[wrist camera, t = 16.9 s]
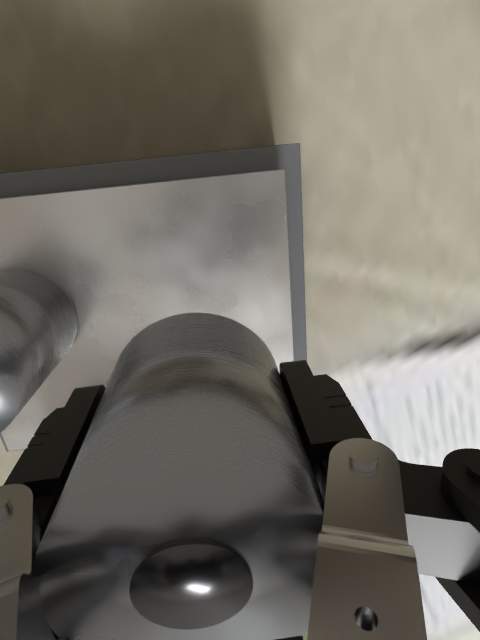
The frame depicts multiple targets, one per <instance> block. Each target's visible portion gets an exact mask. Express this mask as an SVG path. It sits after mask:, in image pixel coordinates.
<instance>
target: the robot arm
mask: <svg viewBox="0 0 480 640" xmlns="http://www.w3.org/2000/svg"><path fill="white" fill-rule="evenodd" d="M279 372H280V377H281V379H282V382H283V385H284V388H285V391H286V394H287V397H288V399H289V402H290V405H291V408H292V411H293V414H294V417H295V419H296V422H297V425H298V428H299V431H300V434H301V437H302V439H303V442H304V445H305V448H306V451H307V454H308V457H309V459H310V462H311V465H312V468H313V471H314V474H315V477H316V479H317V482H318V485H319V488H320V491H321V494H322V497H323V500H324V502H325V504H324V514H323V524H322V531H319V535H318V542H317V551H316V561H315V570H314V579H313V589H312V598H311V607H310V617H309V626H308V635H307V640H427V635H426V628H425V620H424V613H423V605H422V597H421V590H420V582H419V575H418V574H423V575H429V576H435V577H436V579H437V580H438V581H439V583H440V584H441V585H442V586H443V588H444V589H445V590H446V591H447V592H448V594H449V595H450V596H451V597H452V599H453V600H454V601H455V602H456V603H457V605H458V606H459V607H460V608H461V610H462V611H463V612H464V613H465V614H466V616H467V617H468V618H469V619H470V621H471V622H472V623H473V624H474V625H475V627H476V628H477V629H478V630H479V632H480V450H479V449H458V450H455V451H452V452H450V453H449V454H448V455H447V456H446V457H445V458H444V461H443V466H442V467H436V466H427V465H418V464H411V463H406V462H402V461H400V460H398V459H397V457H396V455H395V454H394V452H393V451H392V450H390V449H389V448H388V447H387V446H385V445H383V444H382V443H380V442H377V441H374V440H372V438H371V436H370V435H369V433H368V431H367V430H366V428H365V426H364V425H363V423H362V421H361V419H360V418H359V416H358V414H357V413H356V411H355V409H354V408H353V406H351V403H350V401H349V399H348V397H346V394H345V392H344V391H343V389H342V387H341V386H340V384H339V383H338V382H337V381H335V380H334V379H332V378H331V377H329V376H328V375H326V374H324V375H317V376H313V374H312V372H311V370H310V368H309V366H308V364H307V362H306V360H298V361H290V362H282V363H280V365H279ZM105 389H106V388H105V386H104V385H96V386H88V387H80V388H75V389H74V390H73V392H72V394H71V396H70V398H69V399H68V401H67V403H66V405H65V407H62V408H56V409H55V410H54V411H53V412H52V413H51V414H49V415H48V416H47V417H46V418H45V419H44V420H42V422H41V424H40V425H39V427H38V429H37V430H36V432H35V434H34V437H32V439H31V440H30V442H29V444H28V445H27V446H28V447H27V448H26V449H25V450H24V452H23V454H22V455H21V457H20V459H19V460H18V462H17V464H16V465H15V467H14V469H13V470H12V472H11V474H10V475H9V477H8V479H7V480H6V482H5V483H4V485H3V486H1V487H0V640H67V638H66V636H63V637H58V636H57V635H56V634H55V633H54V632H53V630H52V629H51V628H50V626H49V624H48V622H47V620H46V617H45V614H44V611H43V606H42V601H41V592H40V575H39V572H38V570H37V568H36V565H35V563H34V560H35V556H36V552H37V550H38V548H39V545H40V543H41V541H42V538H43V536H44V533H45V531H46V529H47V526H48V524H49V522H50V519H51V517H52V514H53V512H54V510H55V507H56V505H57V503H58V500H59V498H60V495H61V493H62V491H63V488H64V486H65V484H66V481H67V479H68V476H69V474H70V472H71V469H72V467H73V465H74V462H75V460H76V457H77V455H78V453H79V450H80V448H81V446H82V443H83V441H84V438H85V436H86V434H87V431H88V429H89V427H90V424H91V422H92V419H93V417H94V415H95V412H96V410H97V408H98V405H99V403H100V400H101V398H102V396H103V393H104V391H105ZM276 640H303V637H302V635H301V636H295V637H289V638H282V639H276Z"/></svg>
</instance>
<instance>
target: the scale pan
mask: <svg viewBox="0 0 480 640" xmlns="http://www.w3.org/2000/svg"><path fill="white" fill-rule="evenodd" d="M5 269H22V270H27V271H32V272H34V273H37V274H40V275H42V276H44V277H46V278H47V279H49V280H50V281H52V282H53V283H55V284H56V285H57V286H58V287H59V288H60V289H61V290H62V291H63V292H64V293H65V294H66V296H67V297H68V298H69V300H70V302H71V303H72V306H73V308H74V310H75V314H76V318H77V335H76V338H75V341H74V343H73V345H72V347H71V348H70V350H69V351H68V352H67V354H66V355H65V356H64V357H63V359H62V360H61V361H60V362H59V364H58V365H57V366H56V367H55V369H54V370H53V371H52V372H51V374H50V375H49V376H48V377H47V379H46V380H45V381H44V382H43V384H42V385H41V386H40V387H39V389H38V390H37V391H36V392H35V394H34V395H33V396H32V397H31V399H30V400H29V401H28V402H27V403H26V405H25V406H24V407H23V408H22V410H21V411H20V412H19V413H18V415H17V416H16V417H15V418H14V420H13V421H12V422H11V423H10V425H9V426H8V427H7V428H6V429H5V430H4V431H2V432H1V434H2V436H3V439H4V441H5V444H6V446H7V449H8V451H12V450H20V449H26V448H27V447H28V446H27V445H28V444H29V442H30V440H31V439H32V437H34V434H35V432H36V430H37V429H38V427H39V425H40V424H41V422H42V420H44V419H45V418H46V417H47V416H48V415H49V414H51V413H52V412H53V411H54V410H55V409H56V408H62V407H65V405H66V403H67V401H68V399H69V398H70V396H71V394H72V392H73V390H74V389H75V388H80V387H88V386H96V385H104V386H105V388H106V386H107V384H108V381H109V379H110V377H111V374H112V372H113V370H114V367H115V365H116V363H117V360H118V358H119V356H120V354H121V352H122V351H123V349H124V348H125V346H126V345H127V344H128V343H129V342H130V340H131V339H132V338H133V337H134V336H135V335H137V334H138V333H139V332H140V331H141V330H143V329H144V328H146V327H147V326H149V325H150V324H152V323H154V322H157V321H159V320H161V319H164V318H167V317H170V316H173V315H178V314H183V313H210V314H215V315H220V316H224V317H227V318H230V319H232V320H234V321H237V322H239V323H241V324H243V325H244V326H246V327H247V328H249V329H250V330H252V331H253V332H254V333H255V334H256V335H258V336H259V337H260V339H261V340H262V341H263V342H264V343H265V344H266V346H267V347H268V349H269V350H270V351H271V353H272V356H273V358H274V360H275V362H276V365H277V368H278V371H279V365H280V363H282V362H290V361H294V357H293V335H292V314H291V292H290V271H289V250H288V228H287V207H286V186H285V169H275V170H265V171H255V172H246V173H236V174H226V175H217V176H207V177H198V178H188V179H178V180H169V181H159V182H150V183H140V184H130V185H121V186H111V187H101V188H92V189H82V190H73V191H63V192H53V193H44V194H34V195H24V196H15V197H5V198H0V270H5ZM279 374H280V372H279Z"/></svg>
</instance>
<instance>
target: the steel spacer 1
mask: <svg viewBox="0 0 480 640" xmlns="http://www.w3.org/2000/svg"><path fill="white" fill-rule="evenodd" d="M76 335H77V318H76V314H75V310H74V308H73V306H72V303H71V302H70V300H69V298H68V297H67V296H66V294H65V293H64V292H63V291H62V290H61V289H60V288H59V287H58V286H57V285H56V284H55V283H53V282H52V281H50V280H49V279H47V278H46V277H44V276H42V275H40V274H37V273H34V272H32V271H27V270H22V269H5V270H0V433H1V432H2V431H4V430H5V429H6V428H7V427H8V426H9V425H10V423H11V422H12V421H13V420H14V418H15V417H16V416H17V415H18V413H19V412H20V411H21V410H22V408H23V407H24V406H25V405H26V403H27V402H28V401H29V400H30V399H31V397H32V396H33V395H34V394H35V392H36V391H37V390H38V389H39V387H40V386H41V385H42V384H43V382H44V381H45V380H46V379H47V377H48V376H49V375H50V374H51V372H52V371H53V370H54V369H55V367H56V366H57V365H58V364H59V362H60V361H61V360H62V359H63V357H64V356H65V355H66V354H67V352H68V351H69V350H70V348H71V347H72V345H73V343H74V341H75V338H76Z"/></svg>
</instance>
